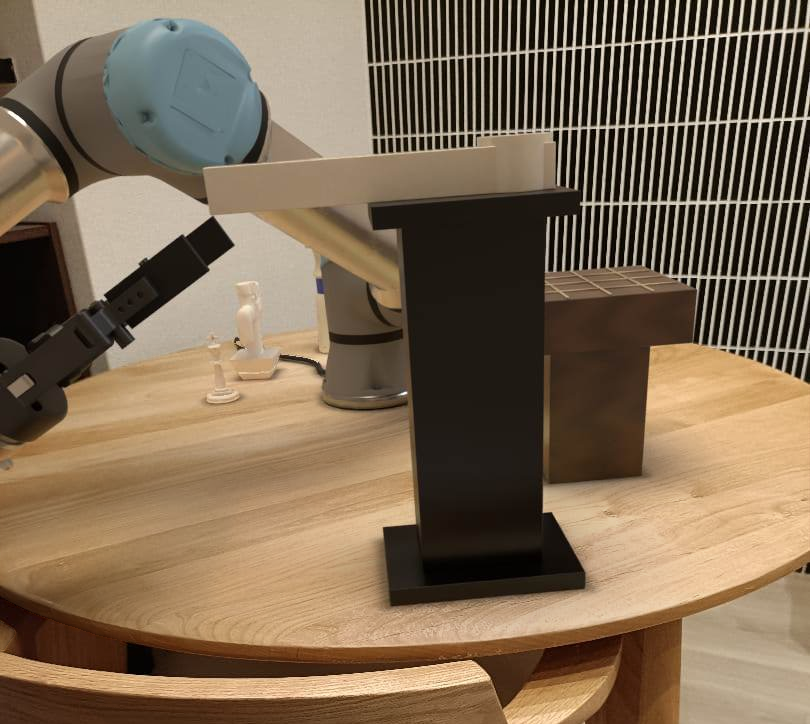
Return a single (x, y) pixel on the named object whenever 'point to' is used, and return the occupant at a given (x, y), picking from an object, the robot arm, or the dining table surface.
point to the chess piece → (219, 374)
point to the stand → (475, 397)
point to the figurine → (252, 335)
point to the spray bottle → (321, 307)
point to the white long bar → (385, 176)
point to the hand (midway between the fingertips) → (211, 240)
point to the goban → (604, 365)
